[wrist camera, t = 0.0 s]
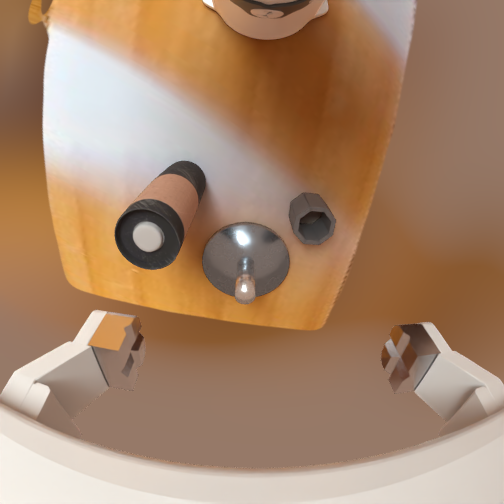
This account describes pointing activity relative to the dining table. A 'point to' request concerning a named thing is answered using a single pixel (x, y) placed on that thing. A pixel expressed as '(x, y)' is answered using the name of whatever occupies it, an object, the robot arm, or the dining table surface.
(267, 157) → the dining table surface
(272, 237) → the grey metal round base
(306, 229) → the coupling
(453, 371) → the robot arm
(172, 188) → the travel mug
